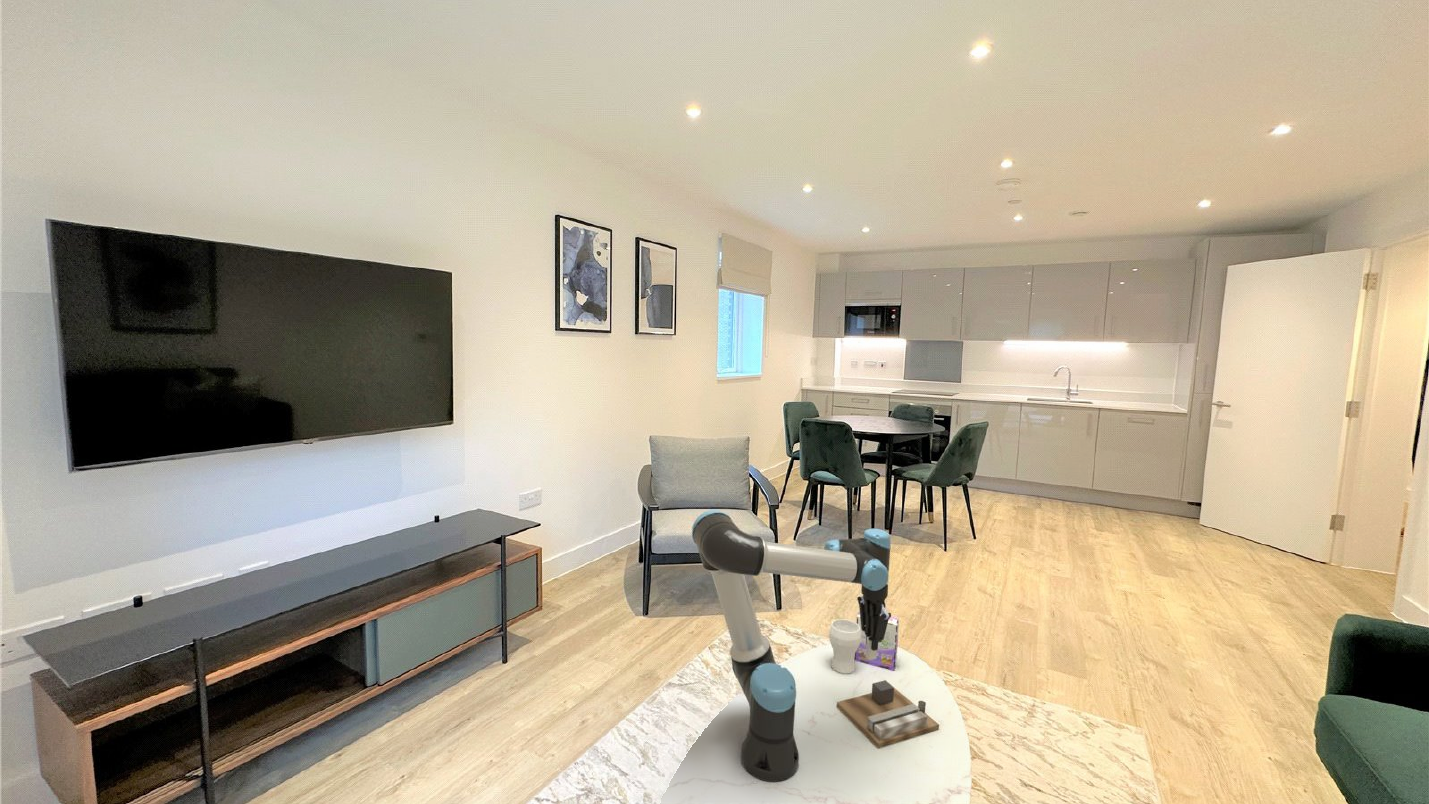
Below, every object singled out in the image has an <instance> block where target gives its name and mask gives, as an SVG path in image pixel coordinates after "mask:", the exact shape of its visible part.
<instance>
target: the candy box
mask: <svg viewBox="0 0 1429 804" xmlns="http://www.w3.org/2000/svg"><path fill="white" fill-rule="evenodd" d="M856 623H857V624H858V625H859V627H860V631H861V642H860V645H859V647H858V649H857V651H856V652H855V655H854V662H859V661H860V662H859V663H864V664H868V665H872V666H876V667H879V668H882V669H883V668H884V669H887V670H892V671H895V669H896V665H897V657H898V644H899V623H900V619H899V618H898V617H892V616H891V617H890V619H889V620H888V624H887V628H886V632H885V636H884V640H880V641H878V649H877V657H876V659H873V660H868V659H867V658H866V635H865V632H864V631H862V629H861V620H860V610H859V611H858V613H857V616H856Z"/></svg>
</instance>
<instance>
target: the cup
mask: <svg viewBox="0 0 1429 804" xmlns="http://www.w3.org/2000/svg"><path fill="white" fill-rule="evenodd" d="M828 632H829V633H828V638H829V641H830V645H831V647H832V650H833V651H832V653H833V656H832V660H831V667H832V669H833V670H834V671H836V672H837V673H840V674H845V675H846V674H852V673H854V672H855V669H856V668H855V660H854V658H855V652H856V651H857V649H858V647H859V645H860V642H861V631H860V627H859V625H858V624H857V622H855V621H853V620H850V619H845V618H838V619H837V618H836V619H833V620H832V622H831V624H830V627H829V631H828Z"/></svg>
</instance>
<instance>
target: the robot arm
mask: <svg viewBox="0 0 1429 804" xmlns="http://www.w3.org/2000/svg"><path fill="white" fill-rule="evenodd" d="M691 535H692V536H691V537H692V540H693V542H694V543H695V544H696V547H697V550H698V551H697V552H698V554H699V557H700V560H701V563H702V567H703V569H704V570H705V571H707V572H710V574H711V577H712V580H713V583H714V586H715V590H716V594H717V597H718V600H719V604H720V606H721V610H722V613H723V617H724V621H725V623H726V626H727V630H728V634H729V636H730V641H731V643H732V645H731V646H730V650H729V656H730V659H731V667H732V672H733V674H734V676H735V678H736V679H737V681H738V684H739V685H740V688H741V690H742V692H743V694H744V696H745V698H746V700H747V703H748V705H749V719H748V722H749V723H748V730H747V732H746V735H745V738H744V741H743V743H742V744H741V749H740V750H741V751H740V761H741V764H742V766H743V768H744V769H745V770H746V771H747V772H748V773H749V774H750V775H751V776H753V777H755V778H757V779H759V778H760V779H759V780H762V781H765V782H781V781H785V780H787V779H790V778H791V777H792V776H794V775H795V774H796V773H797V771H798V769H799V762H800V755H799V754H800V753H799V750H798V747H797V743H796V739H795V735H794V730H795V729H794V728H795V726H794V725H795V715H796V714H795V710H796V700H797V685H796V680H795V677H794V675H793V674H792V672H791V671H790V670H788V668H786V667H782V665H780V664H777V663H776V660H775V657H774V654H773V651H772V648H771V643H770V640H769V639H768V637H766V636H765V635H762V632H761V629H760V625H759V621H758V619H757V615H756V611H755V608H754V604H753V600H752V597H751V595H750V590H749V588H748V583H747V581H746V576H753V577H754V576H755V577H757V576H760V575H761V574H762V573H766V574H774V575H783V576H790V577H791V576H792V577H800V578H808V579H817V580H826V581H834V582H843V583H853V584H859V585H861V591H860V593H861V594H862V596H857V599H856V600H857V601H858V608H859V609H858V610H859V611H860V620H861V629H862V631H864V632H865V635H866V658H867V659H868V660H873V659H876V657H877V649H878V641H880V640H884V636H885V632H886V628H887V624H888V620H889V619H890V617H892V613H891V612H888V611H887V609H886V601H885V600H886V599H887V597H888V596H889V594H888V593H889V585H888V583H889V573H890V571H889V569H890V559H891V557H890V556H891V548H892V547H891V535H890V533H888V531H886V530H883V529H880V528H868V529H866V530H864V532H863V536H862V537H860V538H847V539H845V538H844V539H841V538H840V539H832V540H828V541H826V542H825V544H824V546H823V548H814V547H808V546H799V545H792V544H784V543H777V542H771V541H770V542H769V541H765V540H764V538H763V537H761V536H757V535H756V536H755V535H750V534H749V533H746V532H744V531H743V530H740V528H739V527H738V526H737V525H736V524H735V523H734V521H733V520H732V518H731V517H730V515H728V514H726V513H725V512H724V511H721V510H716V509H711V510H707V511H705V512H702V513H701V514H699V516H698V517H696V519H695V520H694V522H693V525H692V529H691Z"/></svg>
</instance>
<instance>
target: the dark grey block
mask: <svg viewBox="0 0 1429 804" xmlns="http://www.w3.org/2000/svg"><path fill="white" fill-rule="evenodd" d="M894 688H895V687H894V686H893V685H892V684H890V683H889V682H888V681H887V680H880V681H877V682H874V683H873V682H872V685H871V693H872V698H873V699H874V700H875V701H876V702H877V703H878V704H880V705H882V704H886V703H889V702H893V696H894Z"/></svg>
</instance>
